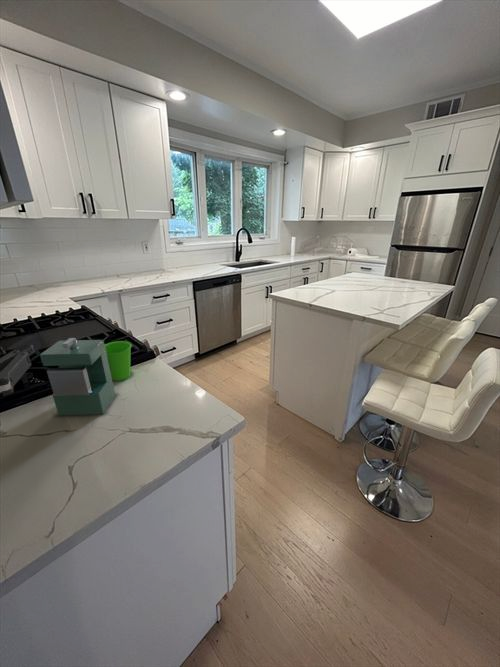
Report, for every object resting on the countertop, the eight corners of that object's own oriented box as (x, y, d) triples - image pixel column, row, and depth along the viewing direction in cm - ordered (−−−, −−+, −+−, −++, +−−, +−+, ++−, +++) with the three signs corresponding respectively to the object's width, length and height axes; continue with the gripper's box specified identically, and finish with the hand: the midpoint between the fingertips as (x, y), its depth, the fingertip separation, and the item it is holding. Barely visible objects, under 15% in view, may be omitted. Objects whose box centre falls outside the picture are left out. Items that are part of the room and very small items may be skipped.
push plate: (54, 396, 66) (46, 371, 64) (58, 392, 68) (50, 367, 65) (89, 395, 67) (82, 370, 64) (92, 391, 68) (86, 367, 66)
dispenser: (59, 417, 70) (36, 346, 63) (75, 398, 78) (57, 332, 70) (104, 416, 71) (87, 345, 63) (115, 397, 78) (102, 332, 71)
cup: (99, 383, 85) (91, 351, 81) (120, 369, 93) (114, 339, 89) (122, 388, 83) (116, 355, 78) (142, 373, 91) (137, 343, 86)
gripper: (-136, 449, 34) (6, 358, 55) (-23, 445, 35) (74, 357, 56) (-172, 398, 31) (-6, 323, 53) (-47, 395, 32) (65, 322, 53)
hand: (35, 341), depth 54 cm, fingers closed
